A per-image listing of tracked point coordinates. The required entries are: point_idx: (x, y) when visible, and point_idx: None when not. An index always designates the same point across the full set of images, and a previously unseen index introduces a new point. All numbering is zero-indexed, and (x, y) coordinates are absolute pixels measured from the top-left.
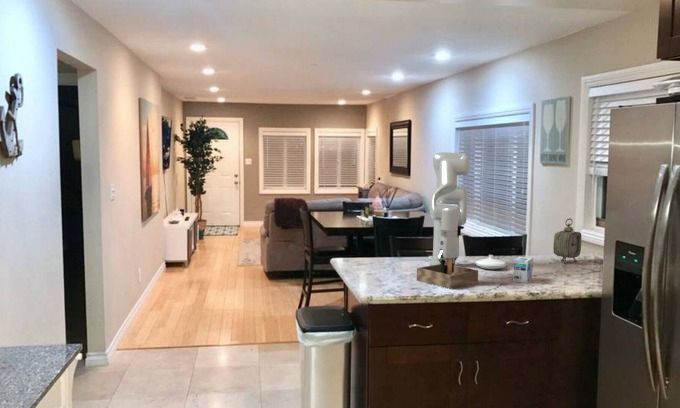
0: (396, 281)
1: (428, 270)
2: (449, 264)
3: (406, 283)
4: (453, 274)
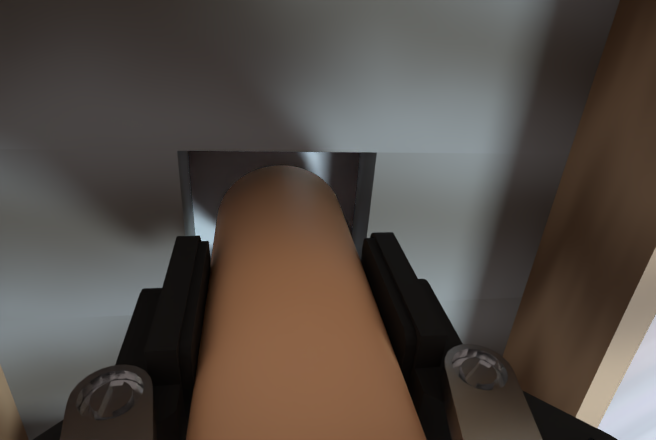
0: (619, 426)
1: (616, 385)
2: (364, 341)
3: (640, 356)
4: (24, 313)
